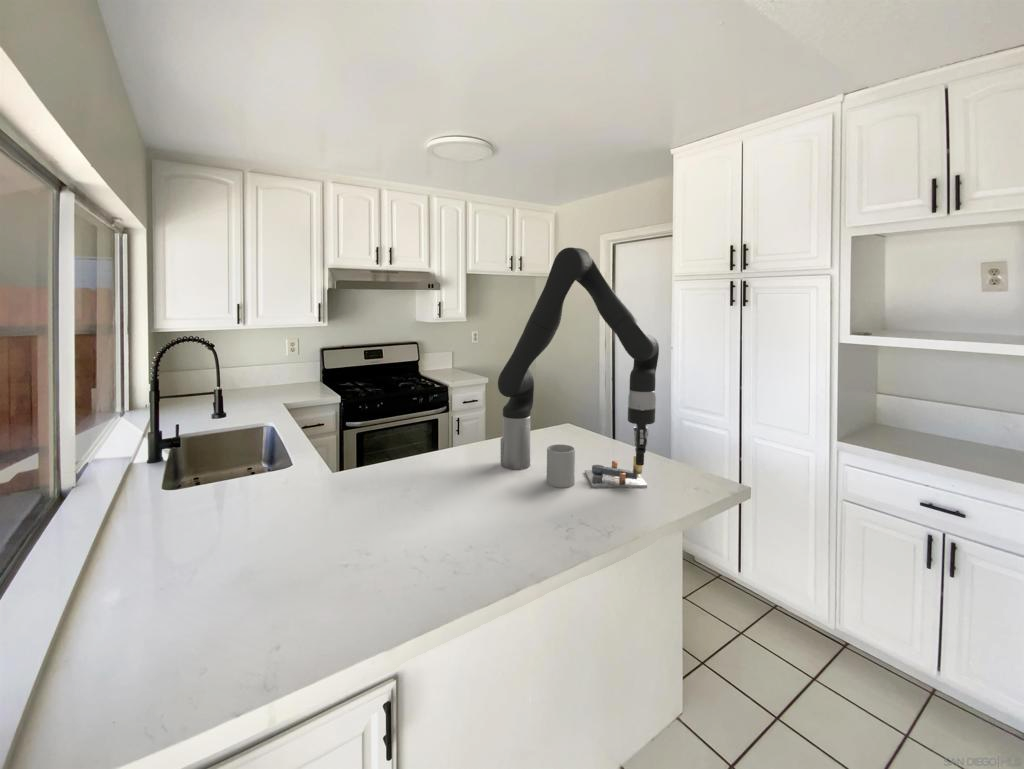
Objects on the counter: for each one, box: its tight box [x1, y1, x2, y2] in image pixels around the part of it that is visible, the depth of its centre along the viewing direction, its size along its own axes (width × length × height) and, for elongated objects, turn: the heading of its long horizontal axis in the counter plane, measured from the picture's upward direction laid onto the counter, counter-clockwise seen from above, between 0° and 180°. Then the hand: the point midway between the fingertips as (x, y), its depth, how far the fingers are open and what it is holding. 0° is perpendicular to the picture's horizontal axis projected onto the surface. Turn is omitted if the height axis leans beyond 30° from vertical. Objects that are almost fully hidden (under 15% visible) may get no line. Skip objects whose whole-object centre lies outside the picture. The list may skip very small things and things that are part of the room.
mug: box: [546, 443, 576, 489], centre depth 149 cm, size 12×8×11 cm
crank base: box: [584, 460, 648, 489], centre depth 151 cm, size 16×13×4 cm
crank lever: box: [591, 455, 643, 479], centre depth 147 cm, size 15×4×7 cm, turn 65°
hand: (639, 464), depth 140 cm, fingers closed
